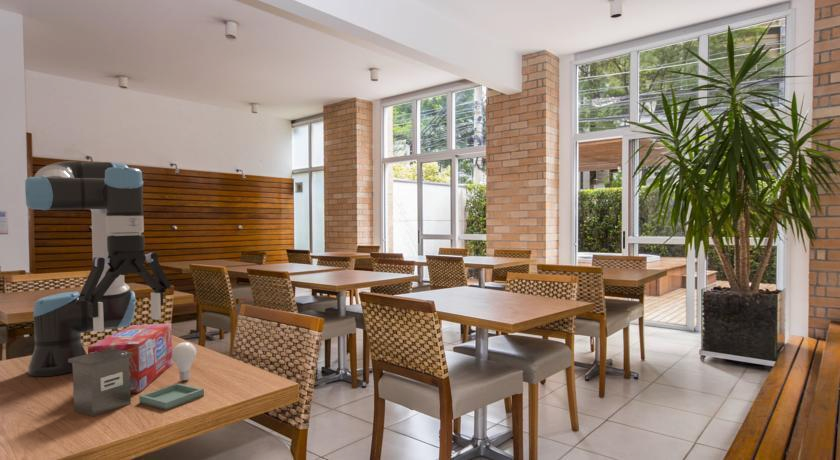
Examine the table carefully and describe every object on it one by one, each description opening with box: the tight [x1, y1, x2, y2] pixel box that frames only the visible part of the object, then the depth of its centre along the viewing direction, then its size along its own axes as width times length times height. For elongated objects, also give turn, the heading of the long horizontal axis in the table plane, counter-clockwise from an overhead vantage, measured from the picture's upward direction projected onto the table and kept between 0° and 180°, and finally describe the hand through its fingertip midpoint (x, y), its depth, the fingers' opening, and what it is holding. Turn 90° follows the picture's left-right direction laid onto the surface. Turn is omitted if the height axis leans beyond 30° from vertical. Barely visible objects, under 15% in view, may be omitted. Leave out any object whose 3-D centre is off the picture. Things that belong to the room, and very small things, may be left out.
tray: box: [138, 382, 205, 411], centre depth 127 cm, size 11×11×2 cm
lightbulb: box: [172, 341, 197, 382], centre depth 142 cm, size 6×6×11 cm
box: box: [87, 322, 174, 394], centre depth 144 cm, size 27×13×14 cm, turn 9°
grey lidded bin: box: [68, 349, 133, 417], centre depth 123 cm, size 9×10×13 cm
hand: (128, 325), depth 117 cm, fingers open, 13 cm apart
